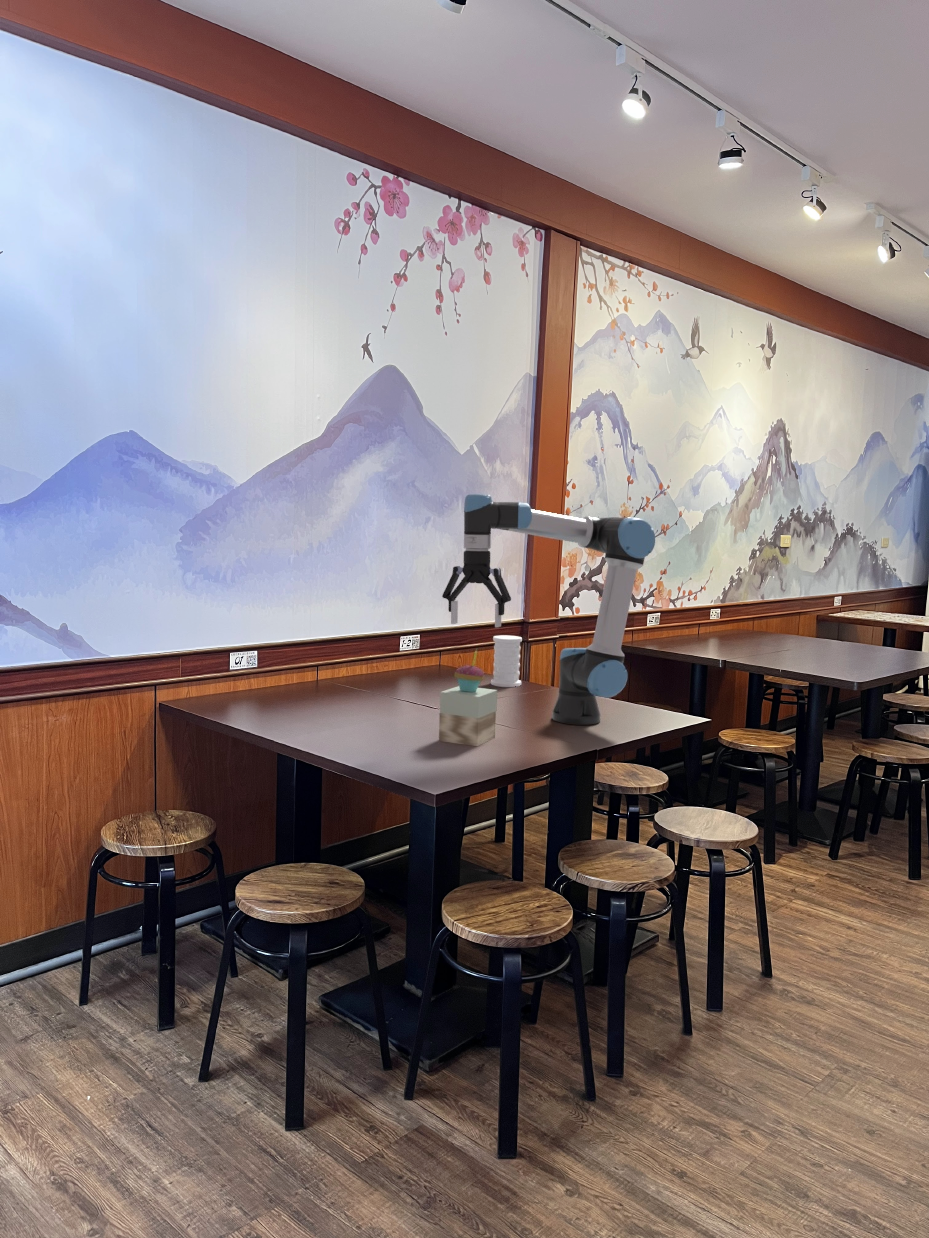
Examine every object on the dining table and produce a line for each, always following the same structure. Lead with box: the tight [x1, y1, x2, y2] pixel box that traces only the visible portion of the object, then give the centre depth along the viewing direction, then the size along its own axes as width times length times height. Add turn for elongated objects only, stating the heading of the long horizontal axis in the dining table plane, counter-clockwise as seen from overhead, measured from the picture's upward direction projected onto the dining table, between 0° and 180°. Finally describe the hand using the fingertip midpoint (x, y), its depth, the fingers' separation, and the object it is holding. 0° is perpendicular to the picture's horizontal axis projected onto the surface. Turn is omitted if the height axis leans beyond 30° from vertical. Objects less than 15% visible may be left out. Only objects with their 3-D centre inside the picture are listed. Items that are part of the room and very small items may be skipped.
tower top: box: [439, 685, 498, 718], centre depth 261 cm, size 12×12×6 cm
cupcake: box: [454, 648, 485, 692], centre depth 260 cm, size 9×8×12 cm
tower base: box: [438, 711, 497, 747], centre depth 262 cm, size 12×12×8 cm
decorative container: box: [490, 634, 523, 688], centre depth 349 cm, size 12×12×18 cm
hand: (475, 625), depth 260 cm, fingers open, 13 cm apart
